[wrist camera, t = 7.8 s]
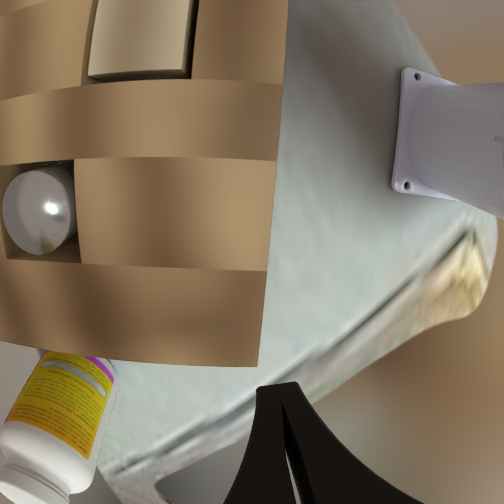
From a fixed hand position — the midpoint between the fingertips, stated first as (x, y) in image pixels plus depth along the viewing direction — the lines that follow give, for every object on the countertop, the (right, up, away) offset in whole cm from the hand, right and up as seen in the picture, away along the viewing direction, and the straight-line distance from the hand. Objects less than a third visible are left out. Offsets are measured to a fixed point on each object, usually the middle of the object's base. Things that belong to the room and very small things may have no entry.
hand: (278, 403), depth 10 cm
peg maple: (-6, +16, +4) cm, 17 cm away
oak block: (-8, +12, +6) cm, 15 cm away
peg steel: (-11, +9, +6) cm, 16 cm away
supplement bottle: (-14, -4, +12) cm, 19 cm away
